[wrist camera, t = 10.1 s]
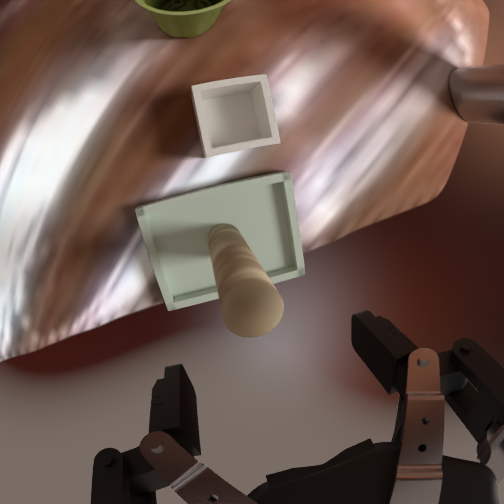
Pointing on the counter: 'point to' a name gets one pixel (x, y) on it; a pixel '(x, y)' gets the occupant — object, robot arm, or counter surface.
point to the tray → (210, 215)
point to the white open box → (234, 114)
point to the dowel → (242, 284)
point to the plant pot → (184, 15)
